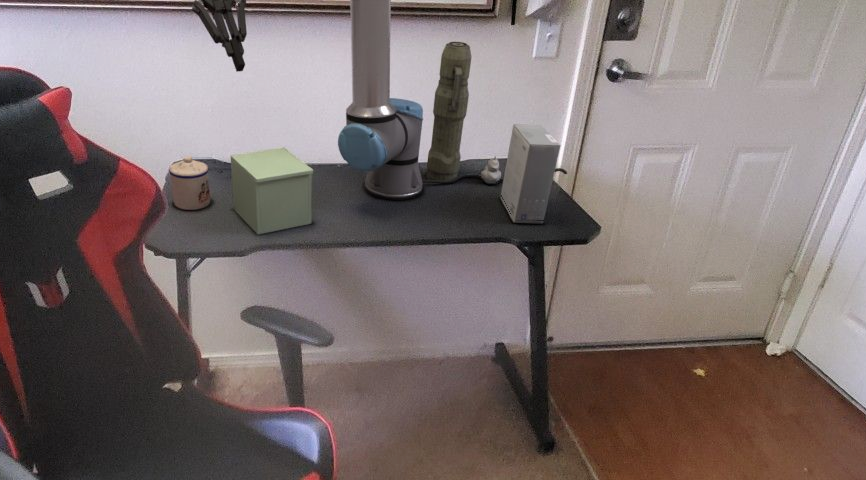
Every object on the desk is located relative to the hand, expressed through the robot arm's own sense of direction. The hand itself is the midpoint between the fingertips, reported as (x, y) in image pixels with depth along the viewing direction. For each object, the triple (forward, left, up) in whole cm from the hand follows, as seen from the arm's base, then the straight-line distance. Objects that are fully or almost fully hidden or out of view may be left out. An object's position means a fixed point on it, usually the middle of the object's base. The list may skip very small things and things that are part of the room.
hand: (240, 67), depth 152 cm
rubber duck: (-65, -14, -31) cm, 73 cm away
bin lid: (-8, +14, -18) cm, 24 cm away
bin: (-8, +14, -31) cm, 34 cm away
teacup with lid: (+12, +7, -31) cm, 34 cm away
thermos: (-52, -16, -31) cm, 62 cm away
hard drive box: (-70, +4, -31) cm, 76 cm away
